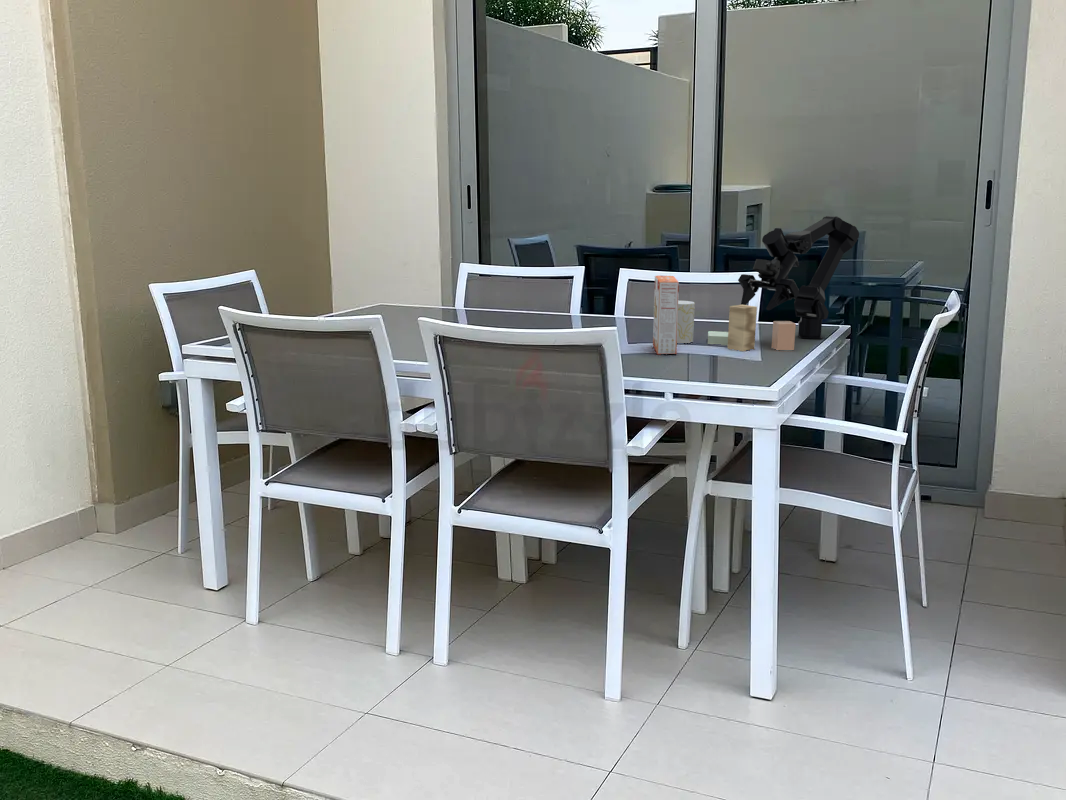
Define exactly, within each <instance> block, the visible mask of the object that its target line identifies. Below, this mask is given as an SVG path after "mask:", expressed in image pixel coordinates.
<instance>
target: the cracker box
mask: <svg viewBox="0 0 1066 800" xmlns="http://www.w3.org/2000/svg"><path fill="white" fill-rule="evenodd" d="M653 291H654V293H653V294H654V298H653V324H652V325H653V327H652V328H653V330H652V331H653V332H652V346H653V348H654V351H655V353H656V355H660V356H662V355H661V354H676V355H677V353H678V351H677V349H678V348H677V347H678V344H677V324H678V301H679V298H680V297H679V296H680V295H679V293H680V282H679V280H678V279H677V278H676V277H675V275H674V276H673V275H655V276H654V290H653Z"/></svg>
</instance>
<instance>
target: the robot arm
mask: <svg viewBox="0 0 1066 800" xmlns="http://www.w3.org/2000/svg"><path fill="white" fill-rule="evenodd" d="M825 236H827V241H828V247H827V248H828V249H827V250H826V252H825V254H824V256H823V258H822V260H821V261H820V263H819V266H818V268H817V269H816V271H815V273H814V275H813V276H812V279H811V281H810V283H809V284H808V285H801V286H800V287H799V288H798V286H797V284H796V282H795V281H794V279H792V278H791V279H790V278H789V276H788V275H789V273H790V271H791V270H792V268H793V267H796V268H799V265H800V262H799V258H798V257H797V256H796V255H795V254H798V255H804V254H807V252H809V250H811V249H812V246H813V244H814V243H815V242H817V241H818V240H820V239H822V238H823V237H825ZM859 238H860V232H859V230H858V228H857V227H856V226H855V225H853V224H852V223H849V222H847V221H844V220H843V219H842V218H841V217H839V216H834V215H833V216H832V215H826V216H823V218H822V219H820V220H819V221H817V222H816V223H815V222H814V223H813V224H811V225H809V226H808V227H807V228H805V229H803V230H800V231H798V230H797V231H793V232H790V233H789V232H788V233H786V234H784V231H783V230H782V228H781V227H780V228H779V227H776V228H774V229H773V230H771V231H769V232H767V233H766V234H764V235H763V237H762V238H761V239H762V240H761V241H762V243H763V245H764V247H765V248H766V250H767V252H768V254H769V256H771V258H772V257H773V258H774V259H772V260H767V259H761V258H756V259H755V262H754V265H753V268H752V270H753V271H756V272H757V273H758V275H757V276H758V278H759V279H760V280H759V279H756V277H755V275H753V274H746V273H745V274H744V273H743V274H741V275H740V276H739V278H738V279H737V280H738V281H737V282H738V283H739V285H740V286H741V288H742V290H743V291H742V296H741V303H740V305H748V303H750V301H751V300H752V299H754V297H755V296H756V293H757V292H758V291H759V289H760V288H761V289H766V290H769V291H775V292H774V294H773V296H772V297H771V298H770V301H769V302H768V303H767V306H766V308H765V309H766V310H767V311H770V310H773V309H774V308H776V307H777V306H779V305H782V304H783V303H785V302H787V301H792V299H794V302H793V306H794V313H795V314H794V315H795V317H797V318H799V317H800V320H799V321H798V322H797V335H798V336H799V338H800V339H818V340H819V339H820V340H821V339H822V324H823V320H826V319H828V317H829V310H828V308H827V307H826V305H825V303H826V293H825V290H826V289H827V287H828V286H829V283H830V281H831V279H832V277H833V275H834V273H835V271H836V270H837V268H838V266H839V264H840V262H841V260H842V258H843V256H844V254H846V253H847V252H849V251H850V250H851V249H852V248H853V247H854V246H855V244H857V242H858V240H859Z"/></svg>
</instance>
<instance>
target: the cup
mask: <svg viewBox="0 0 1066 800" xmlns="http://www.w3.org/2000/svg"><path fill="white" fill-rule="evenodd" d="M695 307H696V303H695V302H694V301H690V300H678V324H677V343H690V342H693V343H694V326H695Z"/></svg>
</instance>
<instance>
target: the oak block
mask: <svg viewBox="0 0 1066 800" xmlns="http://www.w3.org/2000/svg"><path fill="white" fill-rule="evenodd" d="M728 312H729V314H728V315H729V316H728V331H727V332H728V345H727V346H726V347H727V348H728V350H732V349H734V350H733V351H737V350H739V352H747V351H746V350H748V351H751V350H750V349H753V350H755V344H756V330H757V328H756V327H757V313H758V306H756V305H755V306H754V305H748V304H746V305H741V304H736V305H730V306H729V311H728Z"/></svg>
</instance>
